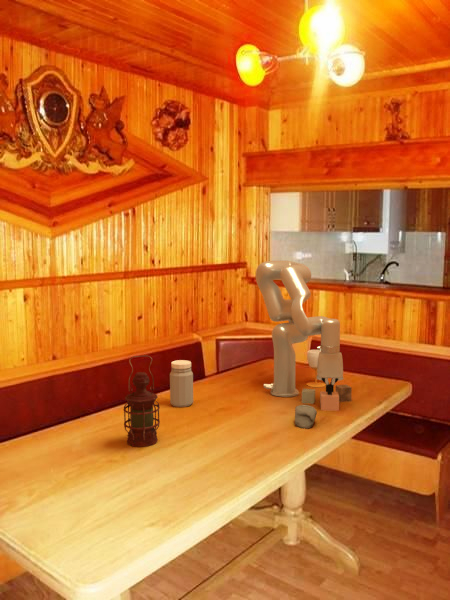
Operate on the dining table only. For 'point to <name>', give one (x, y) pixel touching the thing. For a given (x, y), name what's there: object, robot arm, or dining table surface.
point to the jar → (181, 383)
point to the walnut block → (344, 392)
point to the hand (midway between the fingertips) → (329, 393)
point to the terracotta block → (329, 401)
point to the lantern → (141, 411)
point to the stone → (305, 416)
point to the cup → (314, 367)
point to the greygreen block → (308, 396)
